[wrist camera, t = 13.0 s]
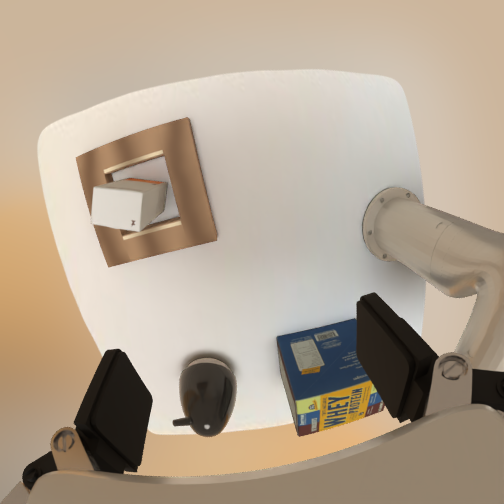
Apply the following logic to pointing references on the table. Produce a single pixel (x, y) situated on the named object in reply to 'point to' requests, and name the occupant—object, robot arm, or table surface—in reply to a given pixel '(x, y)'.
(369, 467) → the robot arm
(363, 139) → the table surface
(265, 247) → the table surface
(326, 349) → the protein box
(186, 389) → the pump dispenser
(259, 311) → the table surface
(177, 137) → the wooden square frame
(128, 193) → the skincare box
